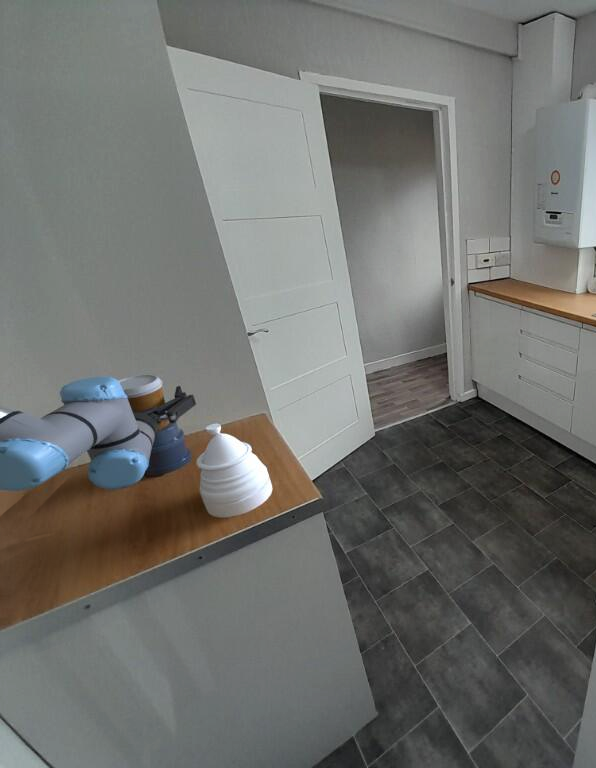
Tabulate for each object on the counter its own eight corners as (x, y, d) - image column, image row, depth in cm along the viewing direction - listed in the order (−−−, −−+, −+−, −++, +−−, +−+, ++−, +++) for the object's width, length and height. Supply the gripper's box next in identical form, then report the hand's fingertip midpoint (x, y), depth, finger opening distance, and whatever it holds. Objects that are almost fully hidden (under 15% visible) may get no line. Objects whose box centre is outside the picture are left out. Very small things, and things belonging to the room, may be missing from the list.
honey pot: (196, 501, 91) (168, 433, 83) (255, 472, 101) (235, 408, 93) (222, 526, 85) (194, 454, 77) (283, 492, 94) (264, 426, 86)
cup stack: (132, 479, 98) (115, 440, 93) (152, 456, 107) (137, 419, 102) (183, 472, 101) (169, 433, 96) (198, 450, 110) (186, 414, 106)
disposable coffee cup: (118, 432, 97) (96, 386, 92) (161, 413, 105) (143, 371, 100) (144, 440, 94) (123, 393, 89) (186, 420, 102) (170, 377, 97)
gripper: (52, 470, 78) (81, 423, 94) (210, 435, 91) (211, 399, 107) (35, 436, 75) (67, 394, 91) (200, 405, 88) (203, 373, 104)
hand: (145, 396), depth 99 cm, fingers open, 13 cm apart
